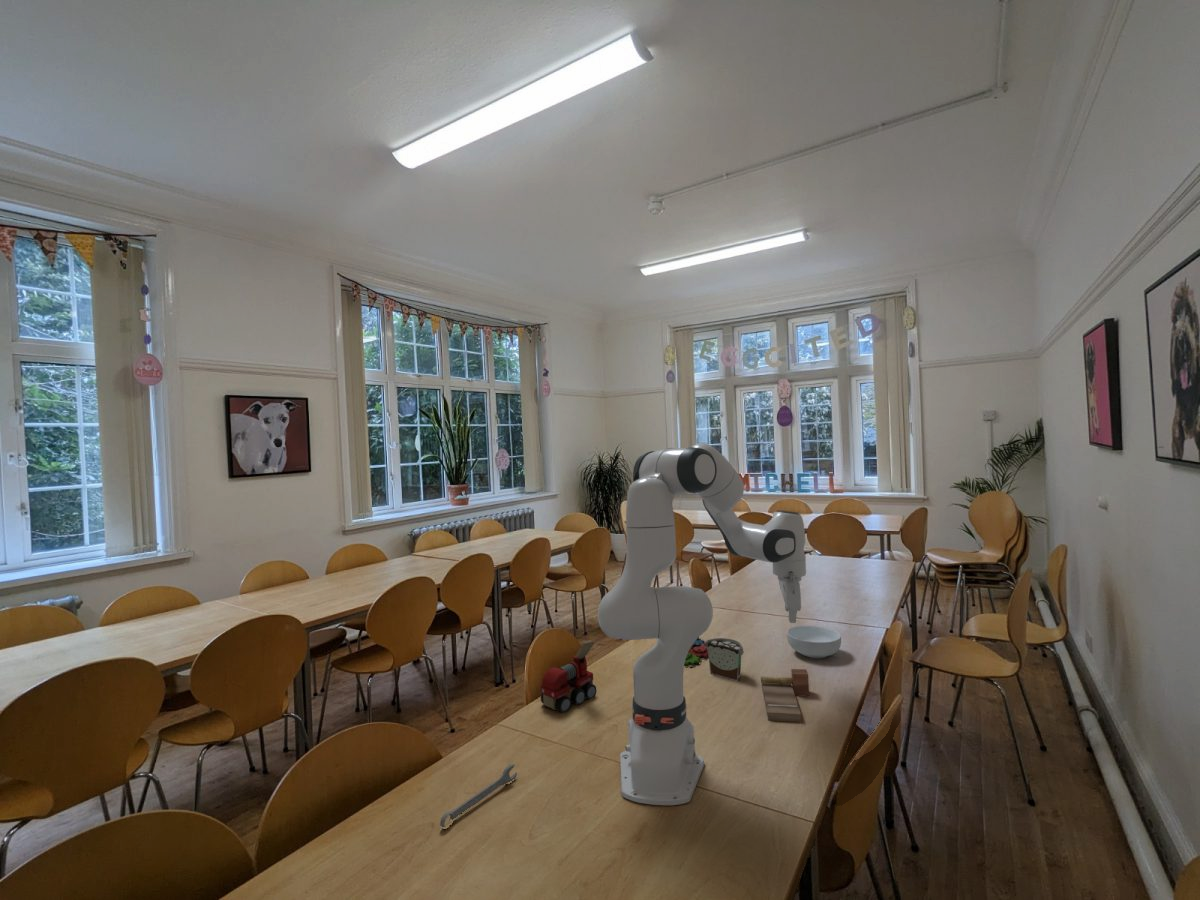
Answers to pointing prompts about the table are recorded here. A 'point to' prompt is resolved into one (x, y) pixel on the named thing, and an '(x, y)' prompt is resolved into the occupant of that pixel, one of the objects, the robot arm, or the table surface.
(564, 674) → the toy fire truck
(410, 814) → the table surface
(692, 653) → the gear puzzle
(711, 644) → the food container
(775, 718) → the walnut board
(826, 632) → the cereal bowl
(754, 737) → the table surface
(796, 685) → the toy wooden hammer
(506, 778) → the combination wrench
